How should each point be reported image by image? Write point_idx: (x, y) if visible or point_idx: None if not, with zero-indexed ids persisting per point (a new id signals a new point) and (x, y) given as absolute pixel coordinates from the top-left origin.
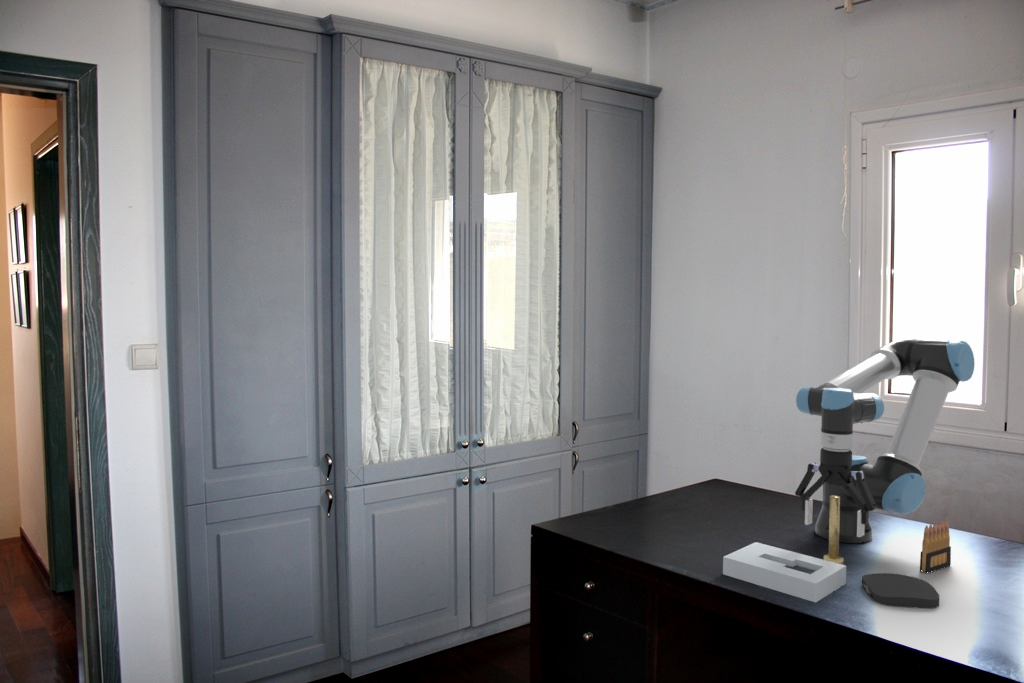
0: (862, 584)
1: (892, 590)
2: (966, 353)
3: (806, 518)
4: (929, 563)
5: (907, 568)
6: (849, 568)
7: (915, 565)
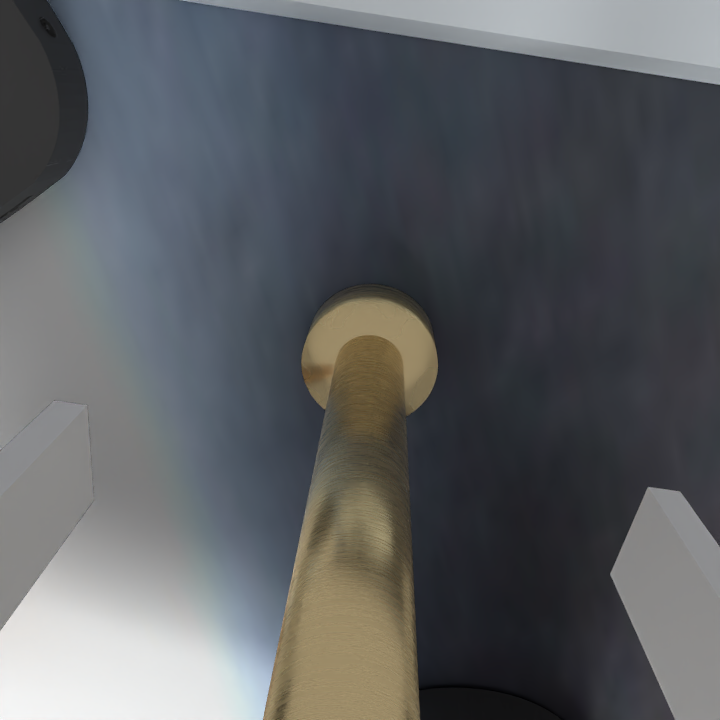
0: (47, 15)
1: None
2: None
3: (696, 542)
4: None
5: None
6: (267, 341)
7: None
